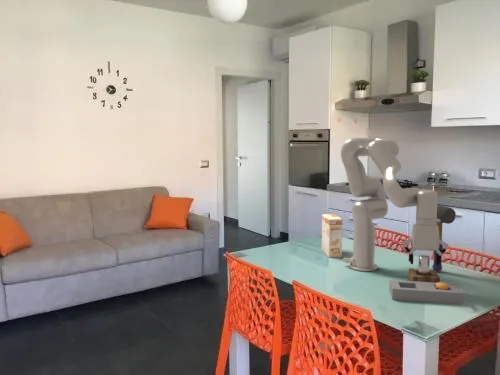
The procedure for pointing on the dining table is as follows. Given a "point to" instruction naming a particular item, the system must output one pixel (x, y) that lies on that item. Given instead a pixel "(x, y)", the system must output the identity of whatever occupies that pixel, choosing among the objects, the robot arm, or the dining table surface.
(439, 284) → the release button
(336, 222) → the coffeecake box
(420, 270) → the silver metal cylinder
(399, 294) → the socket block
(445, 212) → the rubber mallet
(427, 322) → the dining table surface
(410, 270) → the brown open square box
